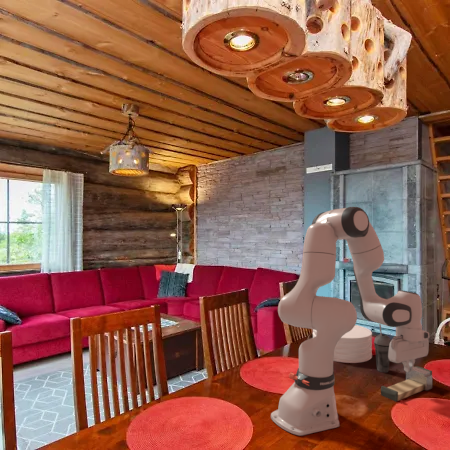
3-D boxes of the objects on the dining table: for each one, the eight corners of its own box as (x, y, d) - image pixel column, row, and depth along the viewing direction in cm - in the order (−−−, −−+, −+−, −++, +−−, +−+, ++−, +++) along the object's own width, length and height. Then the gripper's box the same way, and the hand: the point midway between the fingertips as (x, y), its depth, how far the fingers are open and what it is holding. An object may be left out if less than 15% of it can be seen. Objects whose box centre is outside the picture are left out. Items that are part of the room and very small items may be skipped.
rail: (396, 401, 129) (396, 384, 129) (380, 395, 134) (380, 378, 134) (432, 386, 142) (432, 370, 142) (416, 380, 147) (416, 366, 147)
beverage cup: (393, 374, 153) (393, 327, 154) (375, 373, 155) (375, 326, 155) (389, 368, 160) (389, 322, 161) (372, 366, 162) (372, 321, 162)
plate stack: (310, 342, 196) (310, 321, 196) (364, 345, 193) (364, 323, 193) (315, 361, 169) (316, 336, 169) (379, 364, 165) (379, 339, 165)
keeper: (426, 390, 138) (426, 374, 138) (405, 382, 145) (405, 367, 145) (432, 388, 140) (432, 372, 140) (411, 380, 147) (411, 365, 147)
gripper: (399, 339, 129) (399, 378, 129) (432, 332, 140) (431, 369, 139) (383, 334, 135) (383, 372, 134) (416, 329, 145) (416, 364, 145)
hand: (408, 370), depth 137 cm, fingers closed
